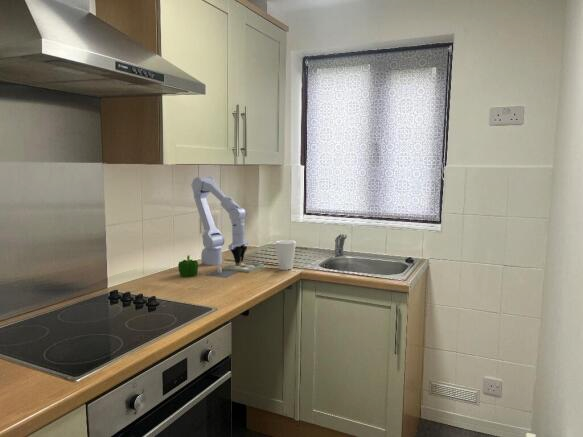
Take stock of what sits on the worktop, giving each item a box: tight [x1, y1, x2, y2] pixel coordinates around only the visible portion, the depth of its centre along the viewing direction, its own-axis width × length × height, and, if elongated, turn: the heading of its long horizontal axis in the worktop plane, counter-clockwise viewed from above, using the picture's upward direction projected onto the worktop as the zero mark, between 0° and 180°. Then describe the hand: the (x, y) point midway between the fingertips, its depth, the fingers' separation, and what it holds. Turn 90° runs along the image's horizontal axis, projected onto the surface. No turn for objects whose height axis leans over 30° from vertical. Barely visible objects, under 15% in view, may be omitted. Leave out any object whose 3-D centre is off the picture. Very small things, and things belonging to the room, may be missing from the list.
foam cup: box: [275, 239, 297, 271], centre depth 213 cm, size 10×9×13 cm
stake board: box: [204, 266, 240, 279], centre depth 198 cm, size 11×11×4 cm
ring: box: [231, 257, 256, 270], centre depth 209 cm, size 8×8×5 cm
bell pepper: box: [178, 255, 199, 278], centre depth 195 cm, size 8×8×10 cm
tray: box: [223, 261, 265, 273], centre depth 210 cm, size 14×14×2 cm
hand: (239, 262), depth 210 cm, fingers closed on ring, 2 cm apart
